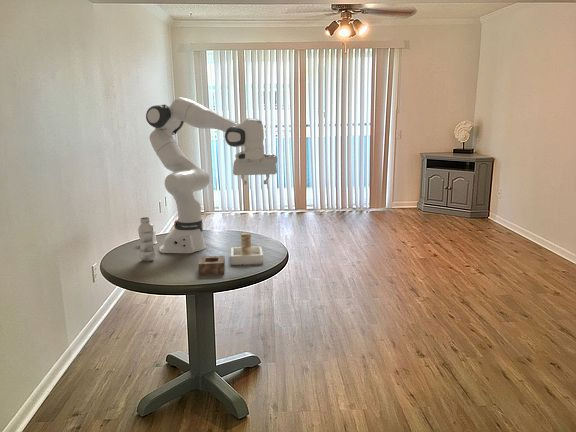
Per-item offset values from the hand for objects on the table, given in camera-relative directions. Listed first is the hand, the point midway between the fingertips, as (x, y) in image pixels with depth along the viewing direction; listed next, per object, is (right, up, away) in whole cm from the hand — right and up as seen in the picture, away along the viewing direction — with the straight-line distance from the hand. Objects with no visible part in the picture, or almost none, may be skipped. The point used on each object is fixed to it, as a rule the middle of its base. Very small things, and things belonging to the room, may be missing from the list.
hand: (255, 184), depth 221 cm
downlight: (-56, -29, +25) cm, 68 cm away
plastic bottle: (-49, -35, -3) cm, 60 cm away
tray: (-4, -35, -3) cm, 35 cm away
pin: (-4, -34, -3) cm, 34 cm away
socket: (-17, -38, -18) cm, 45 cm away
